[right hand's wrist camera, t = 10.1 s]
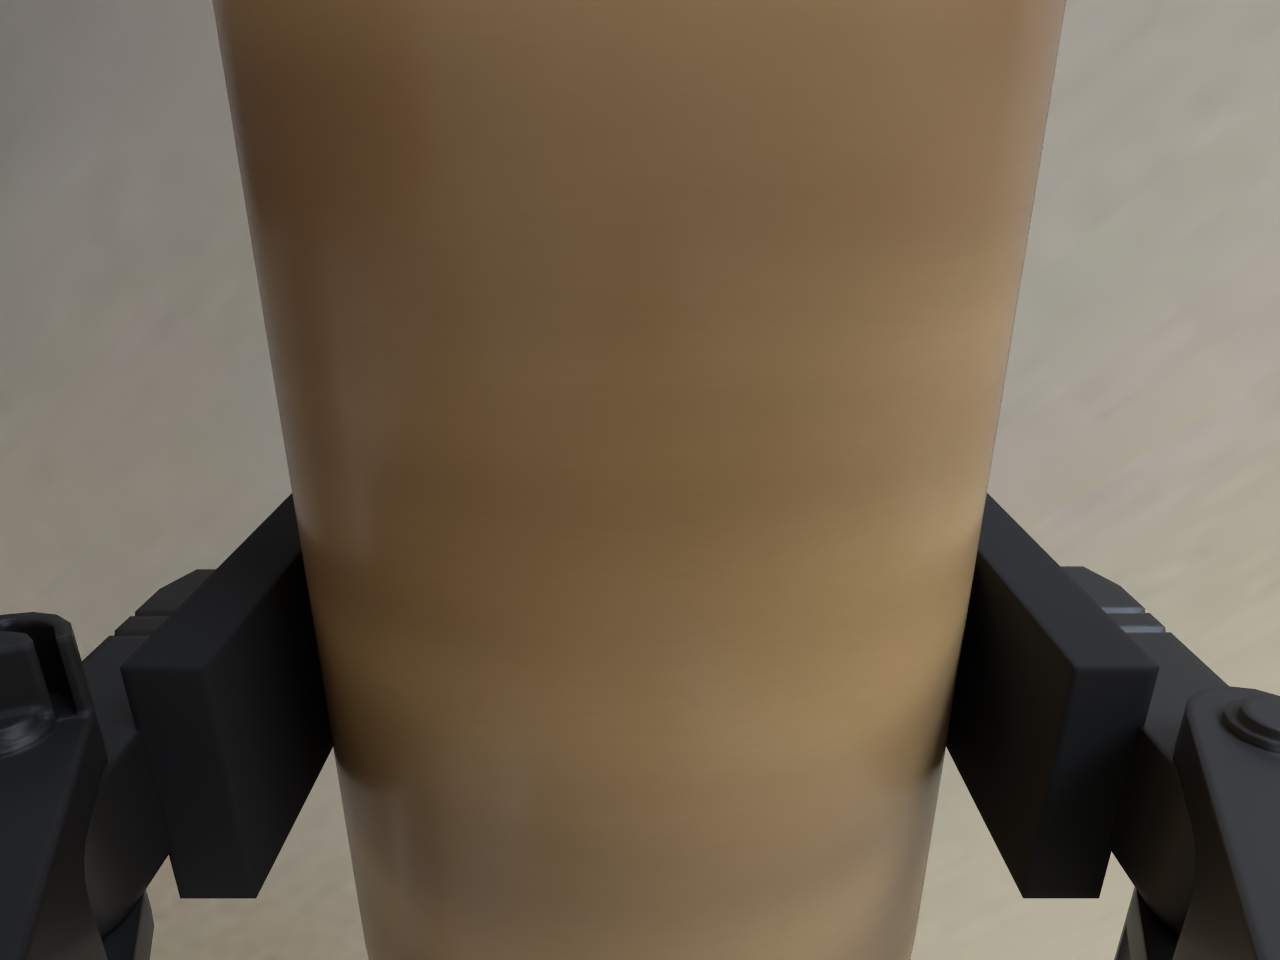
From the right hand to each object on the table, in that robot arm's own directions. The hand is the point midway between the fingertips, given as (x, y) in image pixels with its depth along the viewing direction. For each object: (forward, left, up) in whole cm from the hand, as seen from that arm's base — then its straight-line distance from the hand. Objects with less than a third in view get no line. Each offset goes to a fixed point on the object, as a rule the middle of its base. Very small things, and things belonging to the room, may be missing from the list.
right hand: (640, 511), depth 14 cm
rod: (+4, +6, 0) cm, 7 cm away
